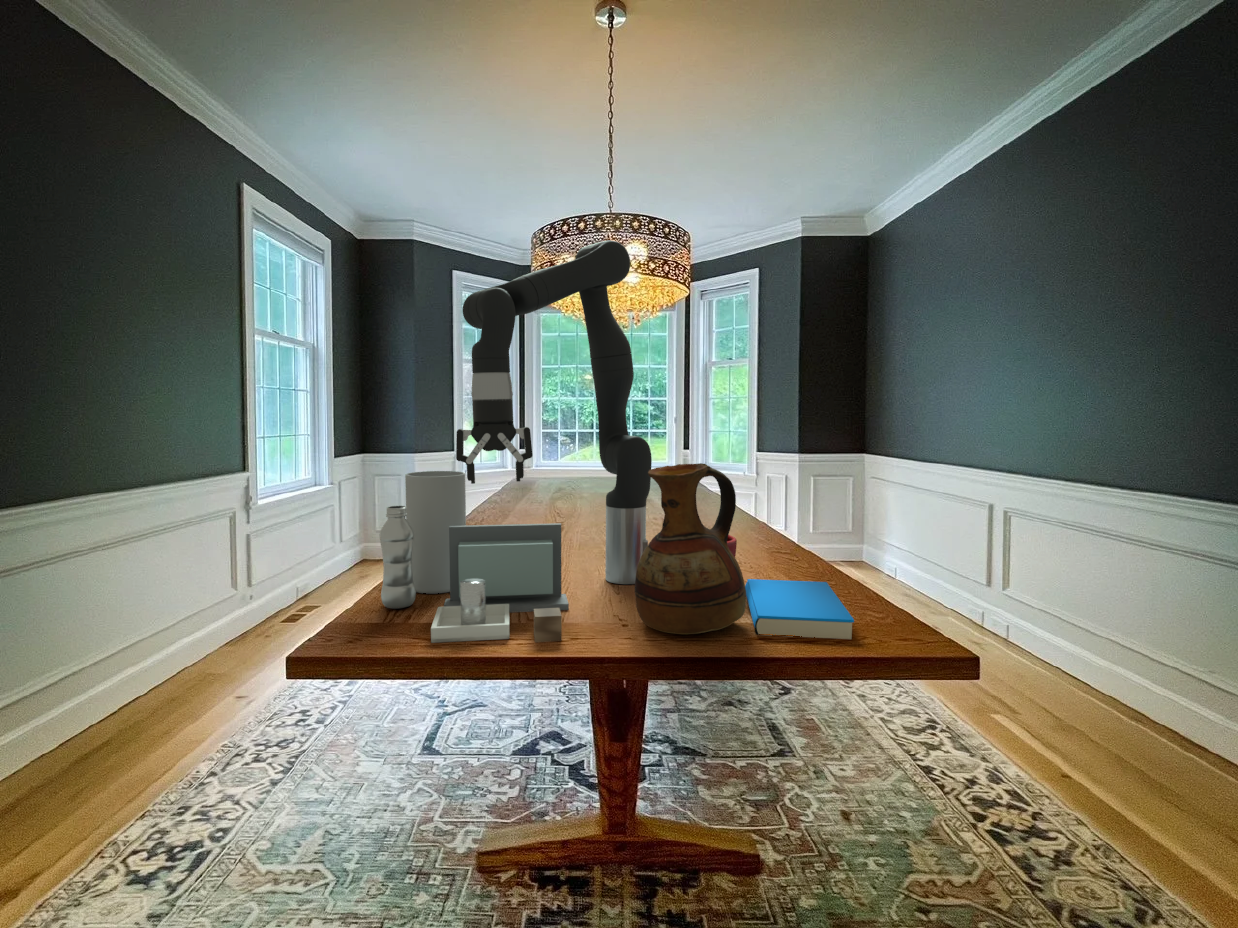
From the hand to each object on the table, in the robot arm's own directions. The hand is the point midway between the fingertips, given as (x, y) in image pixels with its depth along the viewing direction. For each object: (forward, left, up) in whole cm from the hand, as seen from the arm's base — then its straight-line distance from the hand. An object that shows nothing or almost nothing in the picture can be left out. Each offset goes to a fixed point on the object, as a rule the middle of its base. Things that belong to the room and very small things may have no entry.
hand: (495, 482), depth 126 cm
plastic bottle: (+19, -5, -25) cm, 32 cm away
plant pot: (-45, -9, -25) cm, 52 cm away
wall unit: (-2, -2, -25) cm, 25 cm away
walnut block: (-9, +16, -25) cm, 31 cm away
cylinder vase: (+13, -19, -25) cm, 34 cm away
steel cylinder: (+4, +10, -25) cm, 27 cm away
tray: (+4, +10, -25) cm, 28 cm away
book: (-57, +11, -26) cm, 63 cm away
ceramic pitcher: (-35, +14, -25) cm, 45 cm away
